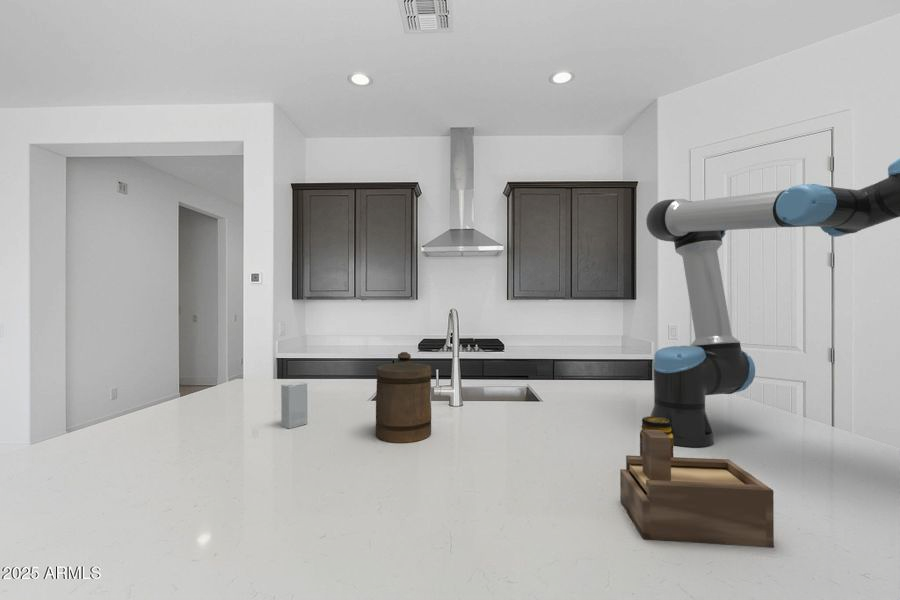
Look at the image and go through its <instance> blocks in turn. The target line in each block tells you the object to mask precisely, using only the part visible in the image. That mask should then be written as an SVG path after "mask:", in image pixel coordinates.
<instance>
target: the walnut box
mask: <svg viewBox="0 0 900 600" xmlns="http://www.w3.org/2000/svg"><path fill="white" fill-rule="evenodd" d="M629 464H639V465H643V463H642V456H640V455H629V454H628V455H627V454H626V455H625V469H624V468H620V470H619V473H620V475H619V476H620V479H619V481H620V484H619V485H620V488H619V489H620V492H619V493H620V496H619V497H620V499H619V500H620V503H621V505H622V506H623V508H624V510H625V511H626V513H627V514H628V517H629V518H630V520H631V521H632V523H633V525H634V526H635V528H636V530H637V531H638V533H639V535H640V536H641V538H642V539H643V540H649V541H650V540H651V541H664V542H665V541H669V542H683V543H699V544H700V543H701V544H717V545H732V546H747V547H762V548H765V547H766V548H774V547H775V546H774V544H775V542H774V541H775V539H774V537H775V536H774V535H775V534H774V533H775V532H774V531H775V530H774V529H775V528H774V521H775V520H774V519H775V517H774V515H775V513H774V510H775V508H774V507H775V506H774V490H773V489H772V488H771V487H769V486H768V485H766V484H765V483H764V482H763V481H761V480H760V479H757V478H756V477H755V476H753V475H752V474H751V473H749V472H748V471H746V470H745V469H743V468H742V467H740V466H739V465H737V463H735V462H733V461H732V460H730V459H726V458H725V459H724V458H701V457H698V458H697V457H677V456H673V457H671V466H687V467H710V468H724V469H725V470H727V471H728V472H729V473H731V474H732V475H733V476H735V477H736V478H737V479H739V480H740V481H741V482H743V483H744V484H728V483H707V482H685V481H663V480H646V486H647V487H648V488H649V495H648V493H647V492H646V491H645V489H644V488H643V487H642V486H641V484H640V483H639V482H638V480H637V479H636V478H635V476H634V475H633V474H632V472H631V471H630V470H629Z"/></svg>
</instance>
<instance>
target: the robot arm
mask: <svg viewBox="0 0 900 600" xmlns="http://www.w3.org/2000/svg"><path fill="white" fill-rule="evenodd" d="M887 175H888V177H887V178H885V179H882V180H880V181H877V182H876V183H874V184H870V185H868V186H865V187H863V188H861V189H852V188H843V187H833V186H827V185H822V184H818V183H817V184H816V183H810V184H809V183H807V184H797V185H794V186H793V185H792V186H791V187H790V188H788V189H781V190H773V191H766V192H765V191H764V192H758V193H749V194H741V195H740V194H739V195H735V196H734V195H733V196H726V197H717V198H716V197H715V198H710V199H709V198H708V199H702V200H695V201H694V200H693V201H692V200H687V199H685V198H677V199H676V198H675V199H664V200H661V201H658V202H656V204H654V205H653V206H652V207H651V208H650V210H649V211H648V214H647V216H646V218H645V219H646V220H645V222H646V227H647V230H648V232H649V233H650V235H652V236H653V237H654V238H656V239H658V240H660V241H664V242H672V243H673V244H674V249H675V253H677V255H679V256H680V257H682V261H683V263H682V264H683V269H684V274H685V281H686V287H687V293H688V294H687V295H688V300H689V306H690V307H689V308H690V312H691V319H692V326H693V332H694V337H695V338H694V340H693V342H692V343H691V344H690V345H680V346H678V345H674V346H673V345H672V346H667V347H666V346H665V347H663V348H660V349H658V350H657V351H655V353H654V358H653V359H654V360H653V362H654V363H653V387H654V388H653V389H654V390H653V391H654V395H653V396H654V400H653V409H652V411H651V414H650V416H655V417H662V418H666V419H668V420H669V421H670V422H671V434H672V435H673V446H680V447H688V448H690V447H691V448H701V447H702V448H703V447H708V446H712V445H713V444H714V431H713V430H712V429H713V428H712V426H711V424H710V421H709V418H708V415H707V413H706V396H713V395H732V394H735V393H739V392H742V391H745V390H746V389H747V388H749V387H750V385H751V384H753V382H754V379H755V377H756V366H755V362H754V360H753V358H752V357H751V356H750V355H748V353H747V352H745V351H744V350H742V347H741V341H740V340H738V339H737V338H736V337H735V336H733V334H732V329H731V323H730V317H729V311H728V310H729V309H728V305H727V301H726V295H725V289H724V283H723V277H722V271H721V265H720V261H719V260H720V259H719V254H718V250H719V249H720V248H721V246H722V245H723V238H724V237H725V235H727V233H726V232H727V231H733V230H734V231H735V230H754V229H755V230H756V229H771V228H773V229H774V228H775V229H776V228H803V227H814V228H815V227H819V228H820V229H821V230H822V232H824V233H826V234H827V235H828V236H829V237H830V236H831V237H835V238H836V237H842V236H844V235H849V234H855V233H858V232H860V231H863V230H865V229H868V228H871V227H874V226H877V225H879V224H883V223H885V222H888V221H892V220H893V219H897V218H900V158H898V159H897V160H895V161H893V162H891V164H889V166H888V167H887Z"/></svg>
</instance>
